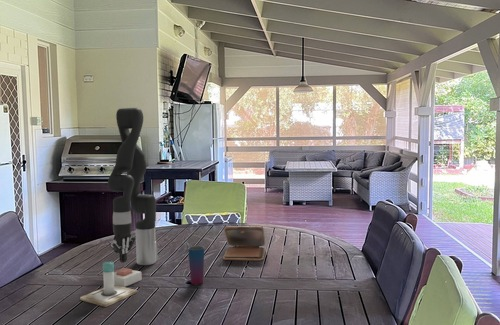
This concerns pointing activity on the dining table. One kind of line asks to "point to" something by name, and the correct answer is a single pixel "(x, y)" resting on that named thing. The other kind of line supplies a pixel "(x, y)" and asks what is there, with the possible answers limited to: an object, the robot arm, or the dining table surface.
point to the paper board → (108, 296)
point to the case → (245, 243)
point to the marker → (108, 278)
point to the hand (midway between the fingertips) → (123, 261)
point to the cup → (196, 264)
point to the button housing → (127, 278)
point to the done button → (124, 271)
